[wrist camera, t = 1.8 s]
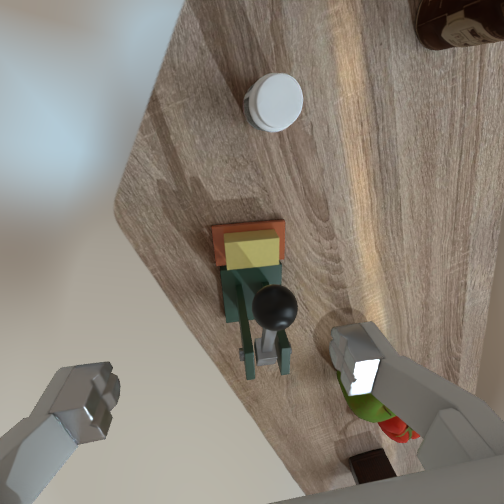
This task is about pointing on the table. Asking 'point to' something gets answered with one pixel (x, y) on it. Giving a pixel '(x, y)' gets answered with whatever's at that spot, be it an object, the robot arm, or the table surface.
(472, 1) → the coffee cup
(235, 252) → the butter
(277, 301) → the blade lever
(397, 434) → the tomato
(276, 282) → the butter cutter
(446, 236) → the table surface
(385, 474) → the coffee grinder
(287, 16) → the table surface
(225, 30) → the table surface
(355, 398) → the apple
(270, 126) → the pill bottle
